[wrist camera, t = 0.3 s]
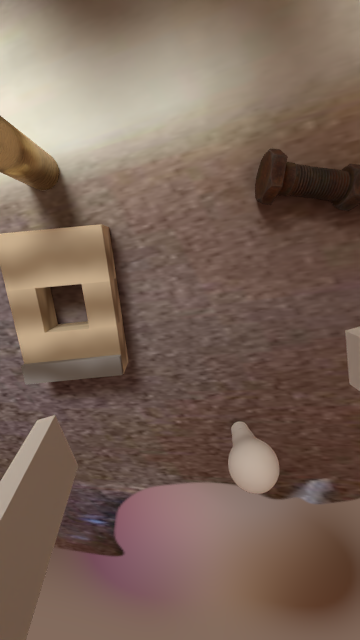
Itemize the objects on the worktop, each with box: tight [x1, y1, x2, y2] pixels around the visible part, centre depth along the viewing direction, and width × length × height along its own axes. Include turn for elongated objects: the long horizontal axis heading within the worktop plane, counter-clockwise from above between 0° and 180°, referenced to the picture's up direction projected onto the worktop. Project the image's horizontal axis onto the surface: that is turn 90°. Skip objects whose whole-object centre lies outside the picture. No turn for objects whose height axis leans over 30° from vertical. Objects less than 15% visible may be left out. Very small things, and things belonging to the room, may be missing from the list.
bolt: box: [255, 149, 360, 211], centre depth 32 cm, size 6×5×15 cm
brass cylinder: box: [0, 116, 59, 190], centre depth 28 cm, size 4×4×11 cm
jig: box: [0, 224, 129, 384], centre depth 34 cm, size 18×12×5 cm, turn 5°
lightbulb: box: [228, 422, 279, 494], centre depth 37 cm, size 6×6×11 cm
